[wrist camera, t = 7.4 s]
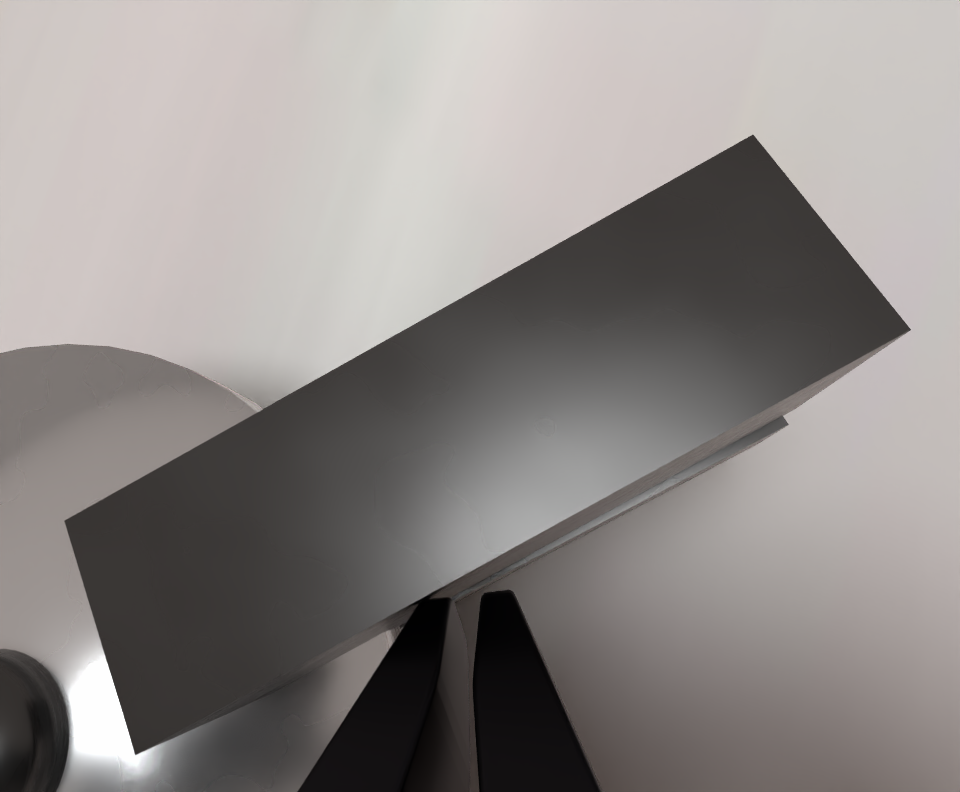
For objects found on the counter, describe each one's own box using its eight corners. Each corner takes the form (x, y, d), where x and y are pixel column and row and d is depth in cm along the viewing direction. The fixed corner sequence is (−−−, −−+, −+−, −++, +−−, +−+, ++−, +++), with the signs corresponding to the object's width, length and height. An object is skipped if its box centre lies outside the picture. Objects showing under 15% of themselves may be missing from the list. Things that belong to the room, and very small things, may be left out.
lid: (-246, 1414, 10) (-816, 2006, 6) (-331, 561, 14) (-698, 564, 10) (1025, 742, 9) (1359, 884, 5) (545, 64, 14) (529, -143, 10)
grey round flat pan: (-106, 1180, 15) (-392, 1440, 10) (-190, 611, 19) (-423, 629, 14) (874, 680, 14) (1003, 738, 10) (568, 201, 18) (563, 89, 14)
